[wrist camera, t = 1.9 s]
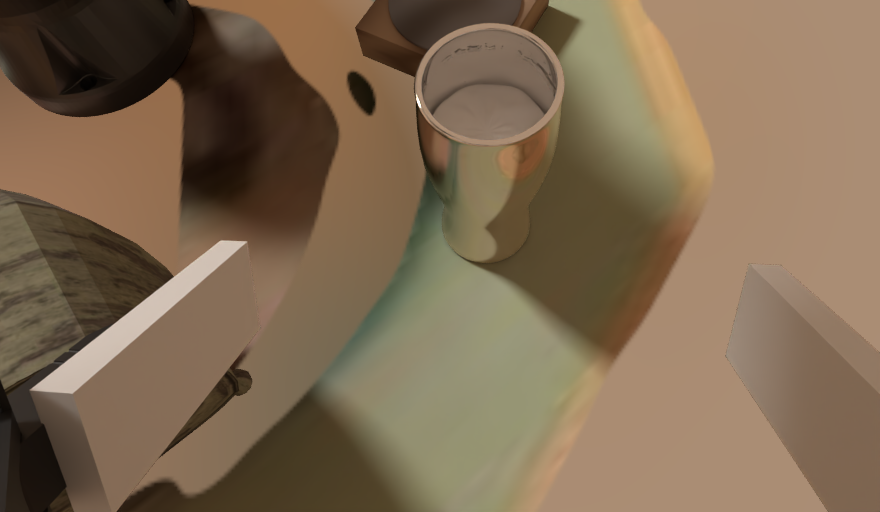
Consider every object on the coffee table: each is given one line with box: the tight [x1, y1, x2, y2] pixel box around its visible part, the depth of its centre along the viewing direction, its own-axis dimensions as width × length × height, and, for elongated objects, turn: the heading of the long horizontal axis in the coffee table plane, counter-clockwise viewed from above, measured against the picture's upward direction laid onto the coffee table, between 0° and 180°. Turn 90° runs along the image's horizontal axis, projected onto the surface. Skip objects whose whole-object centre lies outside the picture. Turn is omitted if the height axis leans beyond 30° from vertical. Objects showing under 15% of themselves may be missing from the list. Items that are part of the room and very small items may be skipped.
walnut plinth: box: [355, 0, 549, 77], centre depth 42 cm, size 11×11×3 cm
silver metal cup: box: [414, 23, 564, 263], centre depth 31 cm, size 7×7×15 cm
